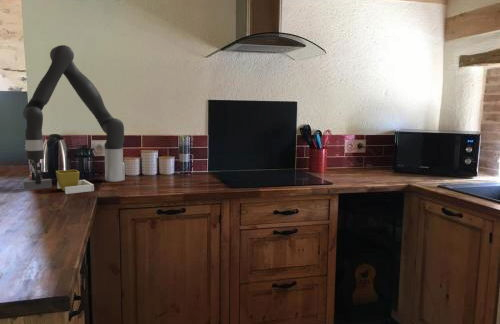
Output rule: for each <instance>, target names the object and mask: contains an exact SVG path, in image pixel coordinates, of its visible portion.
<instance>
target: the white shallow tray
mask: <svg viewBox="0 0 500 324" xmlns="http://www.w3.org/2000/svg"><path fill="white" fill-rule="evenodd" d="M56 182H57V183H56V188H57V189H58V190H59V189H61V188H60V186H59V184H58V181H56ZM94 185H95V184H93V183H91V182H89V181H88V180H86V179H79V182H78V186H71V187H65V191H64V194H66V195H69V194H76V193H77V194H79V193H87V192H88V193H89V192H94V191H95V186H94Z"/></svg>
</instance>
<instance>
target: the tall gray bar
mask: <svg viewBox="0 0 500 324" xmlns="http://www.w3.org/2000/svg"><path fill="white" fill-rule="evenodd" d="M52 182H53V180H52V178H45V179H44V178H43V179H41V184H35V180H32V179H31V180H23V181H22V189H23V190H24V191H29V190H37V189H38V190H40V189H50V188H53V183H52Z"/></svg>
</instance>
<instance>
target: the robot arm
mask: <svg viewBox="0 0 500 324" xmlns="http://www.w3.org/2000/svg"><path fill="white" fill-rule="evenodd" d="M49 56H50V57H49V58H50V59H51V63H50V66H49V67H48V69H47V71H46V73H45V74H44V76H43V77H42V78H41V80H40V81H39V83H38V85H37V86H36V89H34V90H35V91H34V92H33V95H32V96H31V98H30V99H29V101H28V102H27V104H26V106H25V107H24V109H23V112H22V115H23V118H24V119H25V120H26V128H25V133H24V134H25V142H24V143H25V158H26V159H25V160H28V161H29V172H30V175H31V180H35V184H41V180H42V177H41V176H43V172H42V171H43V170H42V163H41V162H40V160H44V158H45V153H44V152H45V151H44V141H43V125H44V124H43V123H44V122H43V121H44V115H43V109H44V107H45V106H46V105H47V104H48V103H49V101H50V100H51V98H52V95H53V93H54V91H55V89H56V87H57V85H58V83H59V81H60V79H61V77H62V76H63V75H64V77H65V79H67V81H68V83H69V84H70V86H71V87H72V88H73V90H74V91H75V92H76V94H77V96H78V97H79V98H80V100H81V102H83V104H84V105H85V106H86V108H87V109H88V110H89V111H90V112H91V114H92V115H93V116H94V118H95V119H96V121H97V122H98V124H99V126H100V128H101V129H102V132H104V134H106V141H105V143H104V144H103V145H104V174H105V175H104V179H105V180H104V181H106V182H114V183H115V182H121V181H125V180H126V179H125V178H126V176H125V172H126V171H125V168H126V167H125V162H124V147H123V145H124V144H125V125H124V123H123V122H122V120H120V119H118V118H114V117H113V115H111V113H110V112H109V111H108V109H107V108H106V106H105V103H104V101H103V98H102V96H101V94H100V91H99V89H97V88H96V86H95V84H94V83H93V82H92V81H91V80H90V79H89V78H88V77H87V76H86V75H85V74H83V73H82V72H81V70H79V68H78V67H77V66H76V63H75V62H74V58H75V54H74V51H73V49H72V48H71V47H70V46H68V45H65V44H64V45H63V44H61V45H57V46H55V47H53V48H52V49H50V53H49Z"/></svg>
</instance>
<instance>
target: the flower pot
mask: <svg viewBox="0 0 500 324" xmlns="http://www.w3.org/2000/svg"><path fill="white" fill-rule="evenodd" d="M55 175H56V180H57V181H56V182H58V184H59V186H60V189H61V190H62V191H63V192H65V187H71V186H78V182H79V180H80V171H79V170H77V169H67V170H55Z"/></svg>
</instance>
